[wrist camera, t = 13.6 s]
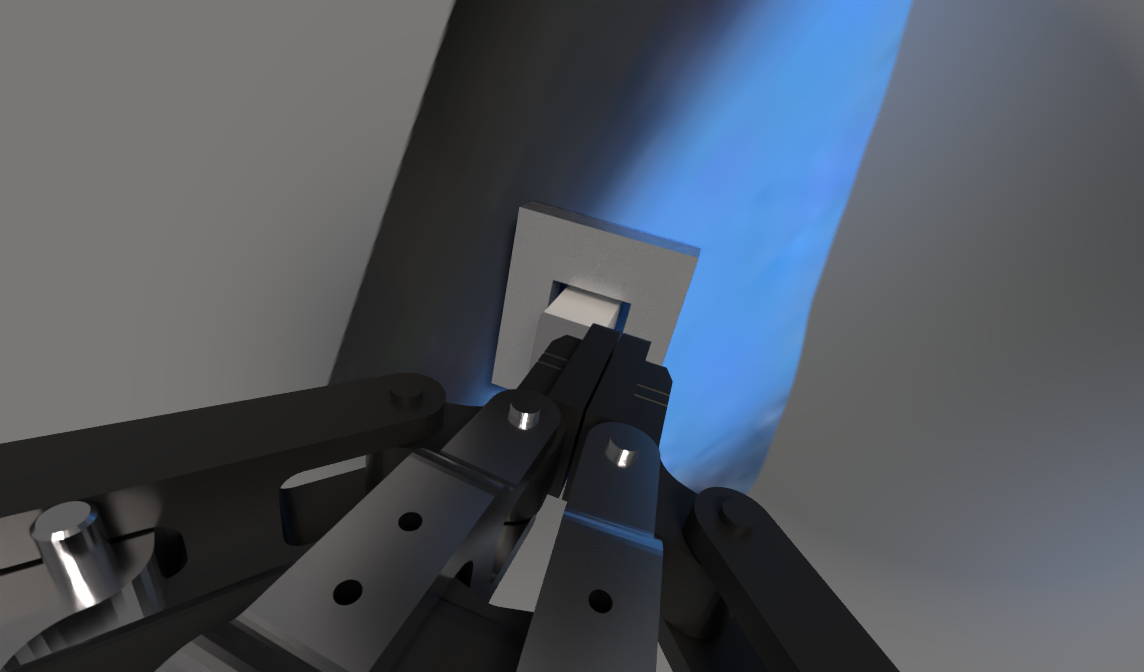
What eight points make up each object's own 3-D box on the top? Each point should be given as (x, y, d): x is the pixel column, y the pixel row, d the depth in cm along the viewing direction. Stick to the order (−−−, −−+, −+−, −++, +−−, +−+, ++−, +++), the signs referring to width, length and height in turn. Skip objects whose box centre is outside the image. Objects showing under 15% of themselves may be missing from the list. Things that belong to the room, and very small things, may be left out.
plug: (571, 282, 36) (539, 316, 30) (623, 298, 36) (601, 336, 29) (560, 330, 38) (528, 371, 32) (609, 346, 37) (586, 391, 31)
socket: (532, 201, 35) (515, 208, 32) (700, 248, 33) (697, 260, 30) (504, 368, 41) (487, 387, 38) (643, 416, 39) (636, 440, 36)
